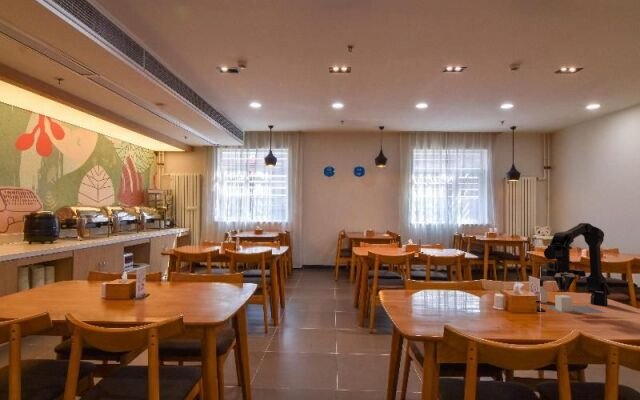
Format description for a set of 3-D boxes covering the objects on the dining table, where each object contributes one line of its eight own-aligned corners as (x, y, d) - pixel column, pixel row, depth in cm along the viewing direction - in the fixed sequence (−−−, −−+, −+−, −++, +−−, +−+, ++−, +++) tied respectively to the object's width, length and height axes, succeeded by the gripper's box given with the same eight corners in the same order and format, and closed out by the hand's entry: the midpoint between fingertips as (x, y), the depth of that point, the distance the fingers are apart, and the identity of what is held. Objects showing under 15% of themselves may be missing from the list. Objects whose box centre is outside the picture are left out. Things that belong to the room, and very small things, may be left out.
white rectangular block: (566, 308, 199) (565, 295, 199) (572, 311, 194) (572, 297, 194) (555, 308, 199) (555, 295, 199) (561, 311, 194) (561, 297, 194)
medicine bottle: (541, 300, 221) (540, 278, 221) (547, 303, 214) (546, 280, 214) (527, 300, 221) (527, 278, 222) (532, 303, 214) (532, 280, 215)
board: (586, 307, 205) (586, 306, 205) (606, 314, 191) (606, 312, 191) (543, 306, 206) (543, 305, 206) (559, 313, 192) (559, 312, 192)
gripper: (572, 256, 205) (572, 287, 205) (535, 256, 206) (535, 287, 205) (586, 259, 194) (586, 292, 194) (547, 259, 194) (547, 291, 194)
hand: (563, 290), depth 197 cm, fingers open, 3 cm apart
